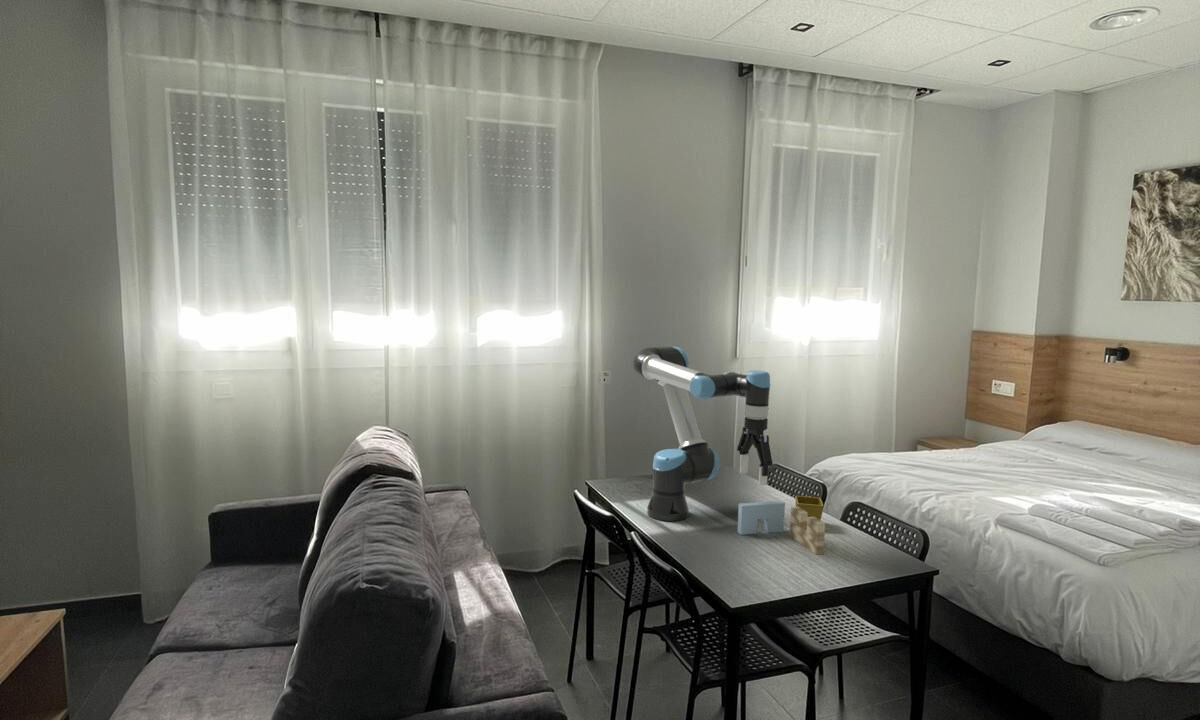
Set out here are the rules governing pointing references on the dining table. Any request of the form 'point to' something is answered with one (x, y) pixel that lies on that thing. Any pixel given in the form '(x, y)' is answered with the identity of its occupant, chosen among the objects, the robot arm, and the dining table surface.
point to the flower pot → (810, 505)
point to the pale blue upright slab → (761, 516)
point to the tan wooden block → (807, 530)
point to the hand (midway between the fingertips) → (752, 478)
